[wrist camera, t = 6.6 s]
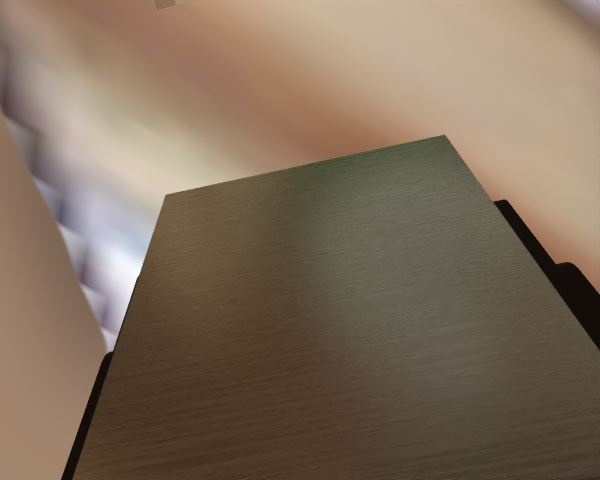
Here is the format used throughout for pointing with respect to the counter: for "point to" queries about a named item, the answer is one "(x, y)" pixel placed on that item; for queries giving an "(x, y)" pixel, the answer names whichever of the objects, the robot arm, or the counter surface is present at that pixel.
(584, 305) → the robot arm
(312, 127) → the counter surface
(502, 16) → the counter surface
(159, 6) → the organizer
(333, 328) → the tea tin
